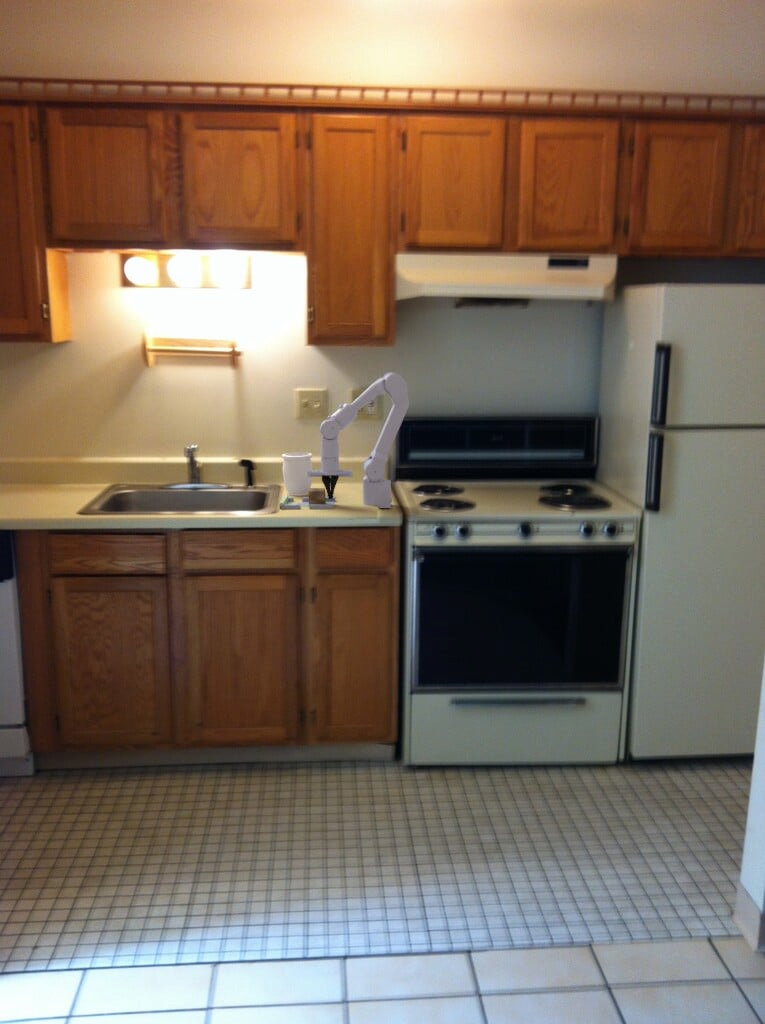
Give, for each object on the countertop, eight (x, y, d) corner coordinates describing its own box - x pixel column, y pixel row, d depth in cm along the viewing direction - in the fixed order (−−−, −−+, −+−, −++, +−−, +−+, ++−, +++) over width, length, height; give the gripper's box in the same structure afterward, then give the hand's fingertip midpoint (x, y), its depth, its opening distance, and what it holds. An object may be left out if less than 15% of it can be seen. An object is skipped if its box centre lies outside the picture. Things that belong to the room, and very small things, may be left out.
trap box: (335, 504, 283) (335, 494, 283) (332, 512, 272) (332, 502, 271) (284, 504, 284) (284, 495, 283) (279, 512, 272) (279, 502, 271)
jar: (280, 494, 299) (278, 452, 296) (308, 492, 303) (307, 450, 300) (287, 500, 290) (286, 457, 286) (316, 498, 293) (315, 455, 290)
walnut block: (325, 503, 280) (325, 488, 279) (324, 506, 275) (323, 491, 274) (310, 503, 280) (310, 488, 279) (308, 506, 275) (308, 491, 274)
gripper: (306, 459, 270) (307, 501, 273) (351, 459, 270) (352, 501, 273) (308, 455, 277) (309, 496, 280) (352, 455, 277) (353, 496, 280)
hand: (330, 498), depth 277 cm, fingers closed
